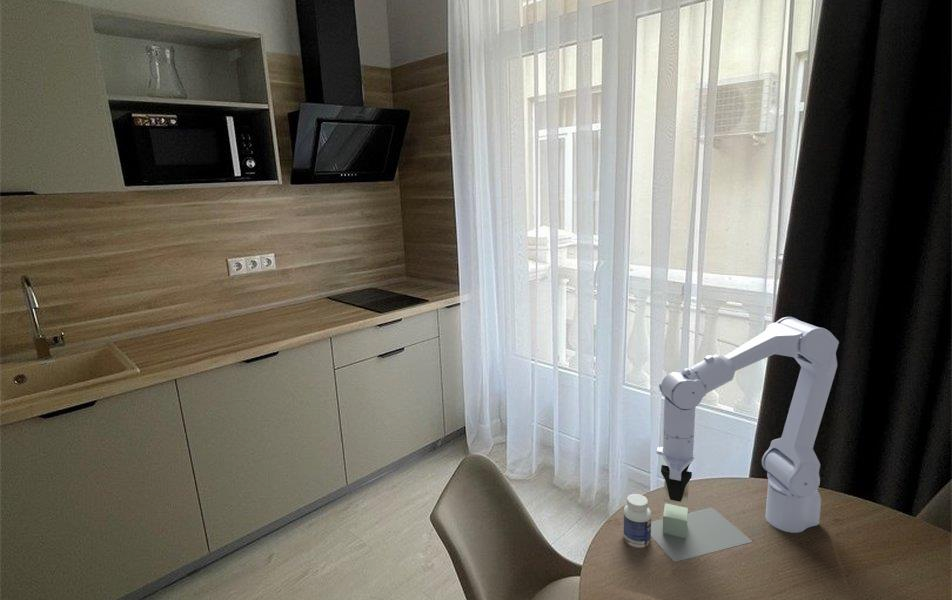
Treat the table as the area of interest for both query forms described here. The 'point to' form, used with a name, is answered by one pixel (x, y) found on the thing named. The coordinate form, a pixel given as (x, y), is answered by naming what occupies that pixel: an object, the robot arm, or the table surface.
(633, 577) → the table surface
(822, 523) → the table surface
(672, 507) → the sage block
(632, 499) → the pill bottle
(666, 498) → the birch block
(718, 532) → the board
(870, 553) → the table surface
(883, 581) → the table surface
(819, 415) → the robot arm
